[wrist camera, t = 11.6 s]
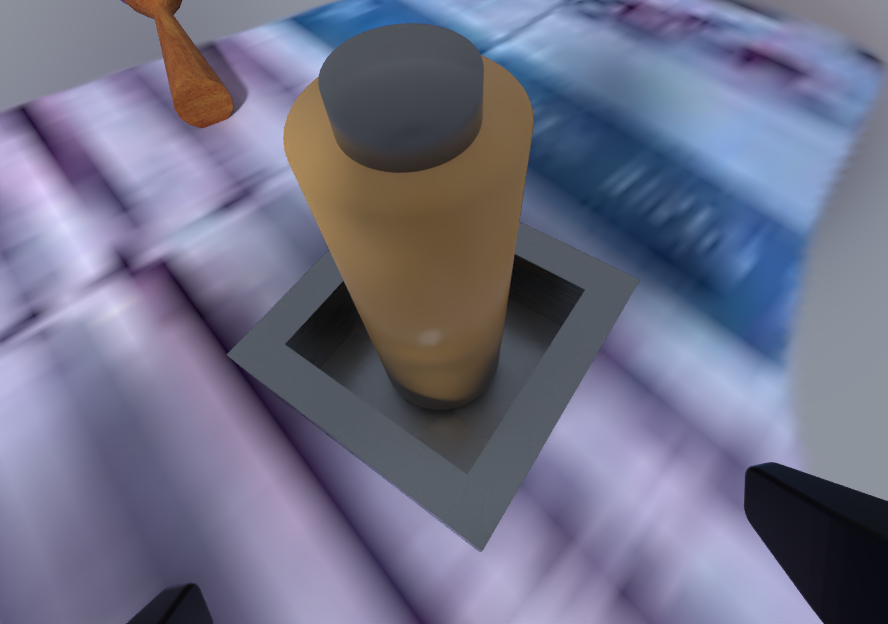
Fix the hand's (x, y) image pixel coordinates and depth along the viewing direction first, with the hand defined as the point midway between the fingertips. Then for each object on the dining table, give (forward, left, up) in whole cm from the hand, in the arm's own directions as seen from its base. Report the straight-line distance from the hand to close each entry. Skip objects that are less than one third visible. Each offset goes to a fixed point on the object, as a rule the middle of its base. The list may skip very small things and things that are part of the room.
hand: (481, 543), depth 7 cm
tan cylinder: (+5, -6, -10) cm, 12 cm away
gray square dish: (+5, -6, -10) cm, 13 cm away
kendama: (+36, -15, -11) cm, 40 cm away
